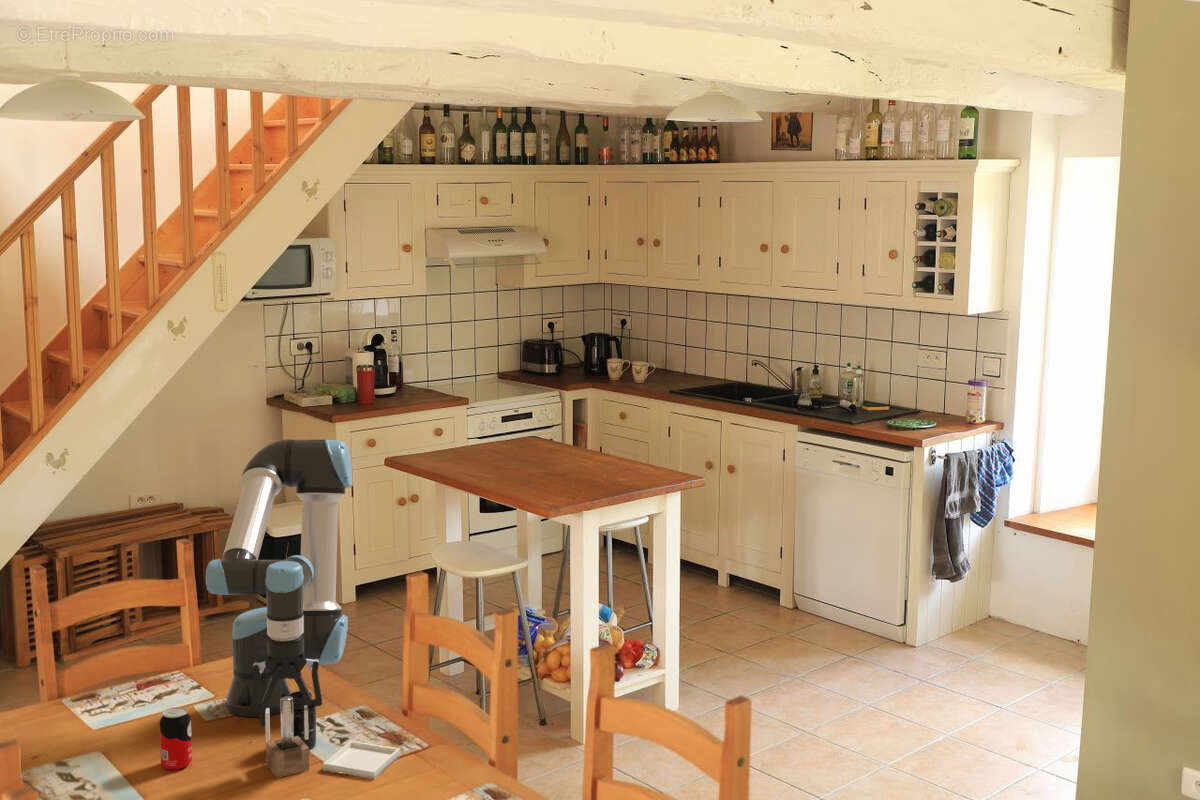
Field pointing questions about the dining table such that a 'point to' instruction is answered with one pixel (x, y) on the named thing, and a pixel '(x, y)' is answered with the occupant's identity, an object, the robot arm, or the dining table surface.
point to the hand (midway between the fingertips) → (287, 738)
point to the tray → (362, 759)
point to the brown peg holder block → (287, 757)
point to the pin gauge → (287, 723)
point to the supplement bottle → (299, 720)
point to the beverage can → (175, 738)
